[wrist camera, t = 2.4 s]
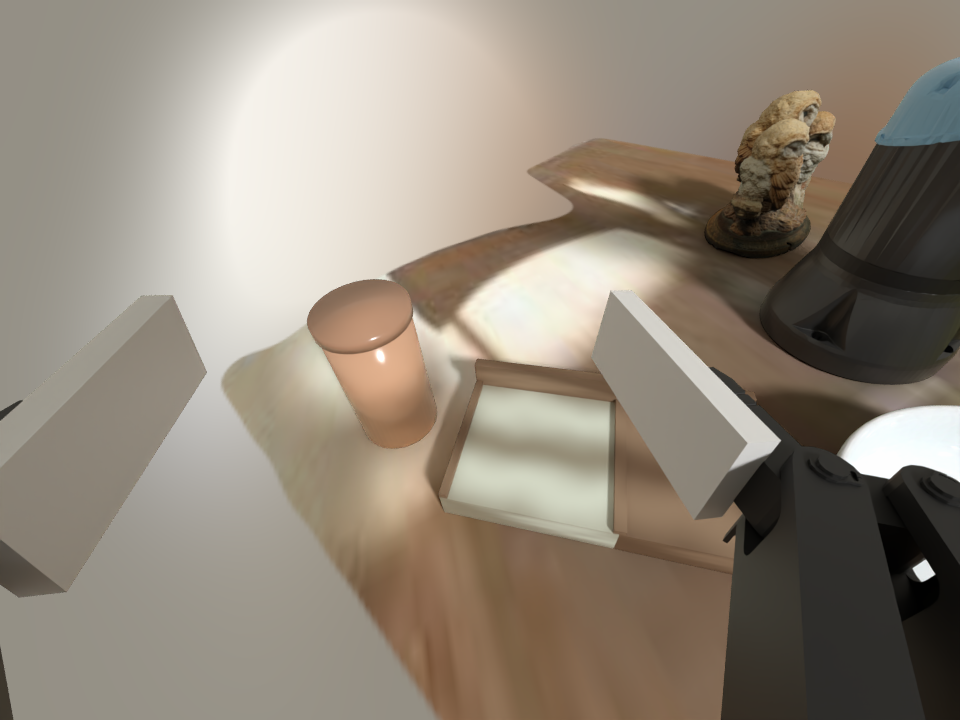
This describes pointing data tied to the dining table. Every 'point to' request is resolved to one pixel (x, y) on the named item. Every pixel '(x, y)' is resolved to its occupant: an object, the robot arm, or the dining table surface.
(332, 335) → the canister
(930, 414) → the serving bowl
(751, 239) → the owl figurine
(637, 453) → the divided tray
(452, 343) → the dining table surface
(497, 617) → the dining table surface
